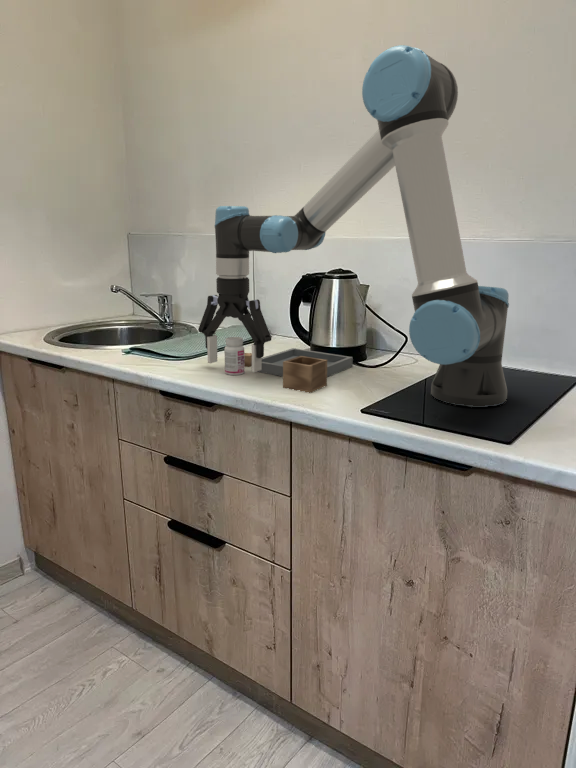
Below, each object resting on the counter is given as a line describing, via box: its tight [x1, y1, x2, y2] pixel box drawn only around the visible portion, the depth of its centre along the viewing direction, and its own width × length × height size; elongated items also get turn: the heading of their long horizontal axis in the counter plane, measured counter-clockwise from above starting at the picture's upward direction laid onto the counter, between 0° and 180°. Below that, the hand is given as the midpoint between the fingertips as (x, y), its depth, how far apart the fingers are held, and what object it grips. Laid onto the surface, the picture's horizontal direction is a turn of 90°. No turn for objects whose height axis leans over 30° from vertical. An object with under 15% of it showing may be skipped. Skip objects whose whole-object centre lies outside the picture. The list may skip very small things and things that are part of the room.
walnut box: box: [282, 356, 328, 394], centre depth 126 cm, size 7×7×6 cm
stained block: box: [244, 352, 252, 368], centre depth 145 cm, size 6×3×3 cm, turn 79°
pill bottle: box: [223, 336, 246, 376], centre depth 136 cm, size 5×5×8 cm
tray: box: [257, 347, 354, 378], centre depth 141 cm, size 18×18×2 cm
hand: (234, 366), depth 137 cm, fingers open, 13 cm apart
